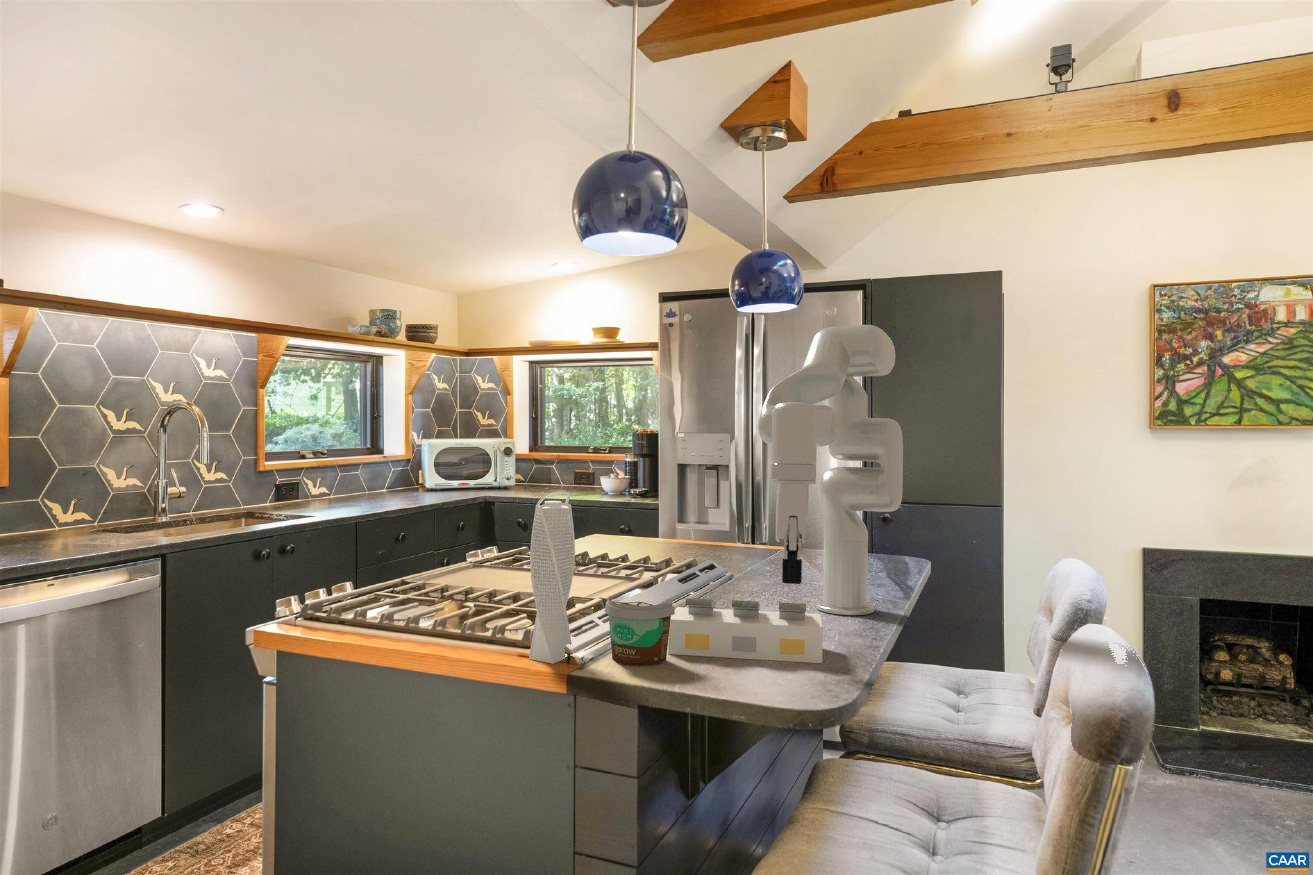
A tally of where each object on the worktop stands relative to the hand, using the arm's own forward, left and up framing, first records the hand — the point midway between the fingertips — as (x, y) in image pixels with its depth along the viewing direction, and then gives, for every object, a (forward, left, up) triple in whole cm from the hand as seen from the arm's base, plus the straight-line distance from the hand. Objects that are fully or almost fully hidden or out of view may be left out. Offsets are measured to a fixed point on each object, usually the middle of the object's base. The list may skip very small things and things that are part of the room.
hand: (791, 582), depth 128 cm
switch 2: (-4, -8, -5) cm, 10 cm away
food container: (+7, -26, -13) cm, 30 cm away
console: (-4, -8, -13) cm, 16 cm away
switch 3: (-4, 0, -5) cm, 6 cm away
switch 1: (-4, -16, -5) cm, 17 cm away
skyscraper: (+7, -40, -13) cm, 43 cm away
